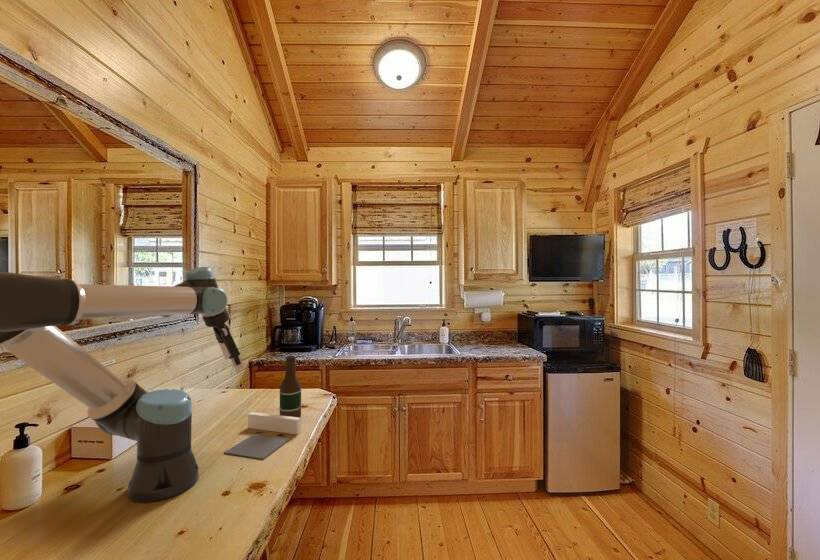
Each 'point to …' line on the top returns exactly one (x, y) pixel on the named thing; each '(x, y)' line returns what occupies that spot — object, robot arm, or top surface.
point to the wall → (274, 423)
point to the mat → (258, 446)
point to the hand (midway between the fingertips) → (234, 364)
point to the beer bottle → (290, 391)
